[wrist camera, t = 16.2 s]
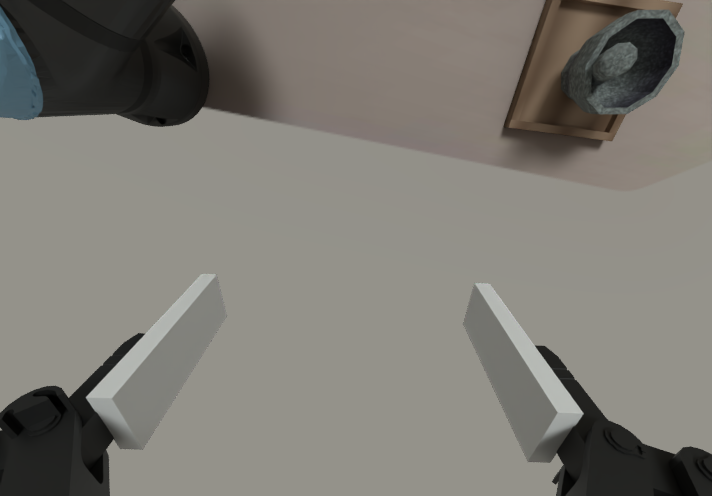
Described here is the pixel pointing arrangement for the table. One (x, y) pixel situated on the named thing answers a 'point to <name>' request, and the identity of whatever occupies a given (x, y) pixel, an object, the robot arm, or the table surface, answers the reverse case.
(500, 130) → the table surface
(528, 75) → the walnut tray
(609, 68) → the mortar and pestle
